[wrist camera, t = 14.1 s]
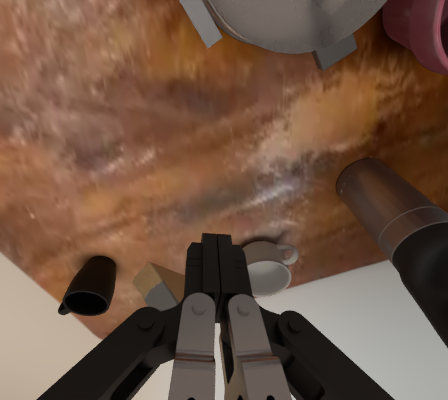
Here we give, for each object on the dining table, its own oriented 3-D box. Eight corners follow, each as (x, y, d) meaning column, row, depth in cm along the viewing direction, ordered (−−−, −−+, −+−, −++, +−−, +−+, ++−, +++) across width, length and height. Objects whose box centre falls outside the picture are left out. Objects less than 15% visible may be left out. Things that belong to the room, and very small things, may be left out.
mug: (60, 267, 55) (37, 308, 47) (102, 245, 52) (85, 285, 44) (89, 286, 59) (72, 326, 52) (130, 267, 57) (118, 307, 49)
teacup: (249, 273, 61) (255, 304, 54) (223, 248, 55) (226, 279, 49) (302, 247, 57) (315, 277, 50) (280, 217, 51) (291, 246, 45)
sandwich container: (148, 260, 56) (133, 327, 44) (205, 283, 62) (206, 348, 50) (131, 281, 59) (112, 348, 47) (186, 301, 66) (183, 365, 53)
